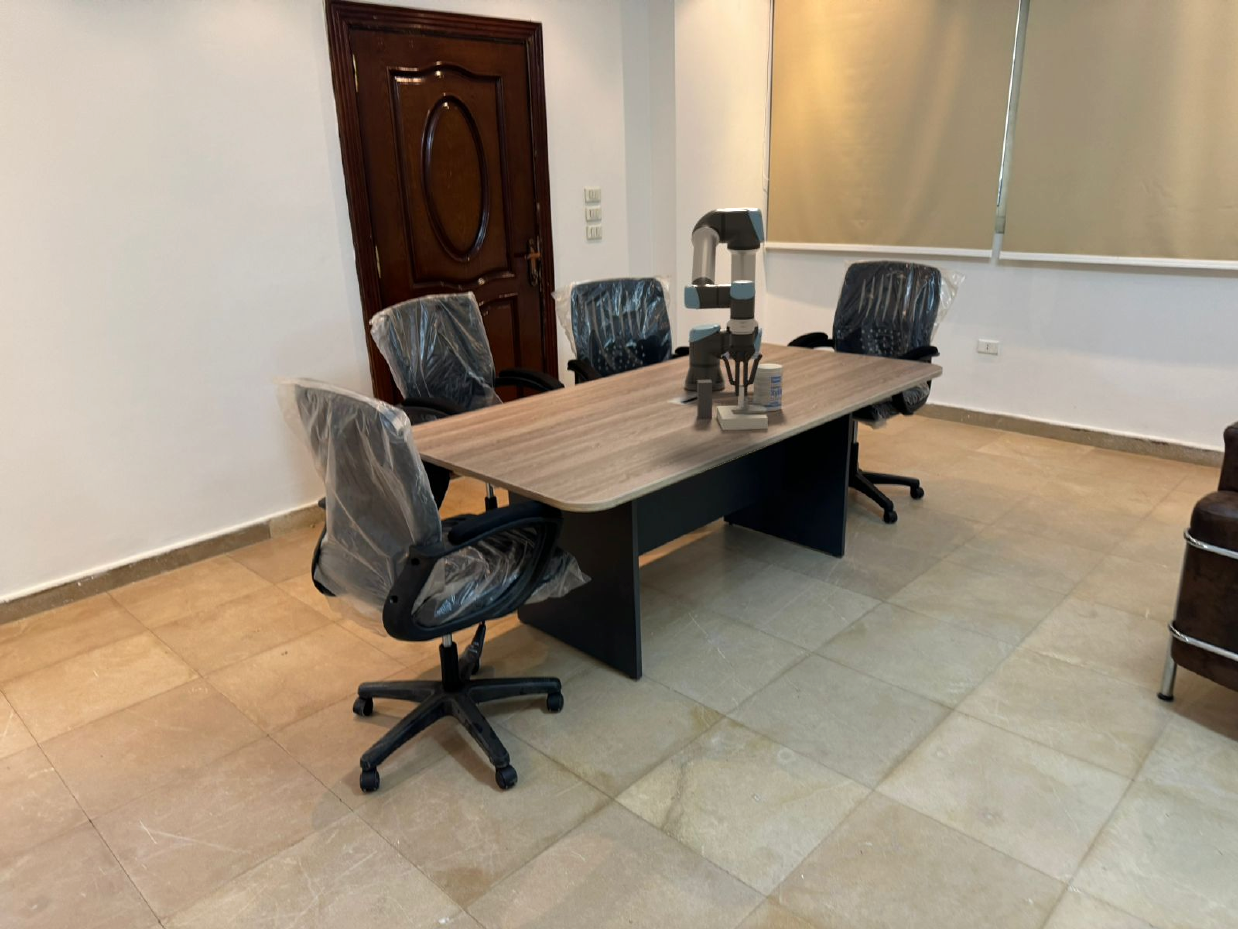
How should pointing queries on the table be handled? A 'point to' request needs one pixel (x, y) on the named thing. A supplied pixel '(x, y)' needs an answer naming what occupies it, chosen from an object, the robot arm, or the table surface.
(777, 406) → the supplement tub
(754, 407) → the plate
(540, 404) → the table surface
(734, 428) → the socket plate
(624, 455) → the table surface
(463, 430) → the table surface
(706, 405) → the plug
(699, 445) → the table surface
